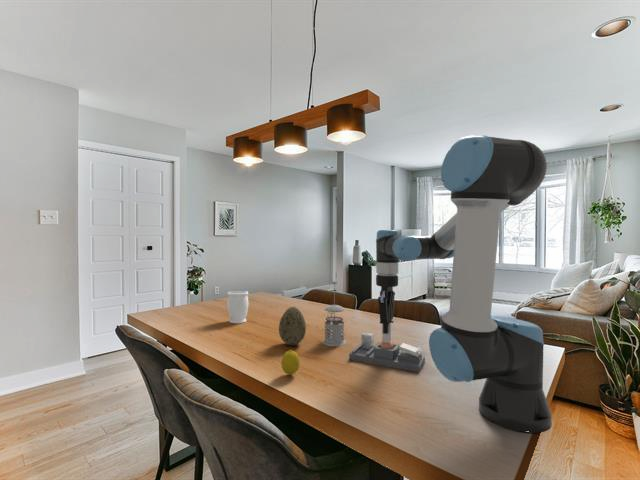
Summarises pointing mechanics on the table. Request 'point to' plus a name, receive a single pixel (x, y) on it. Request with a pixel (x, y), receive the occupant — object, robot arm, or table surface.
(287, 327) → the decorative egg
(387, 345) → the push button
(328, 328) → the french press
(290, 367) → the lemon
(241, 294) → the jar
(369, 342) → the slide switch
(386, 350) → the panel
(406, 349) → the rocker switch
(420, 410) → the table surface
